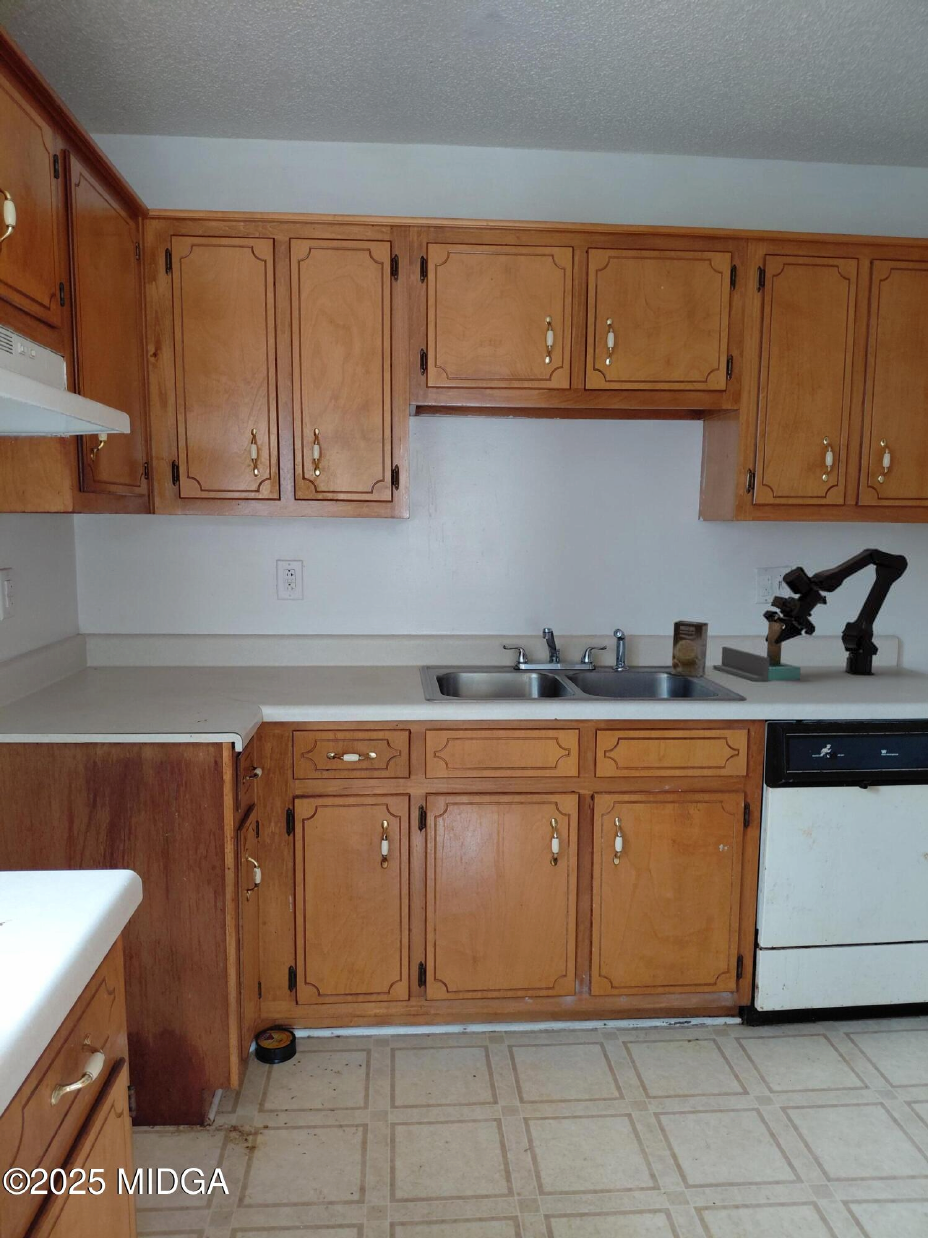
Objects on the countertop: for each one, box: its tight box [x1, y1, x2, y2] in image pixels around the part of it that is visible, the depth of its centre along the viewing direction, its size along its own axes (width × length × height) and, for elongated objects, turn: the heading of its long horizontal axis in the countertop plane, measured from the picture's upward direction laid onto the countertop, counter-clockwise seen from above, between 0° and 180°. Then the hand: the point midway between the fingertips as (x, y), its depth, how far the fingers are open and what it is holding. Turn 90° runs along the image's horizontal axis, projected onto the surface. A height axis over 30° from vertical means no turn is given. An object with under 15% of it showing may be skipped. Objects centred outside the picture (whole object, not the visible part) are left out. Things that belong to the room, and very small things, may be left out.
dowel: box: [766, 622, 784, 665], centre depth 261 cm, size 4×4×12 cm
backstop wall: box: [712, 646, 769, 683], centre depth 265 cm, size 5×22×7 cm, turn 16°
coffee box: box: [670, 619, 709, 678], centre depth 264 cm, size 9×6×16 cm
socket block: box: [767, 661, 801, 682], centre depth 262 cm, size 11×11×4 cm
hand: (770, 642), depth 261 cm, fingers closed on dowel, 4 cm apart
